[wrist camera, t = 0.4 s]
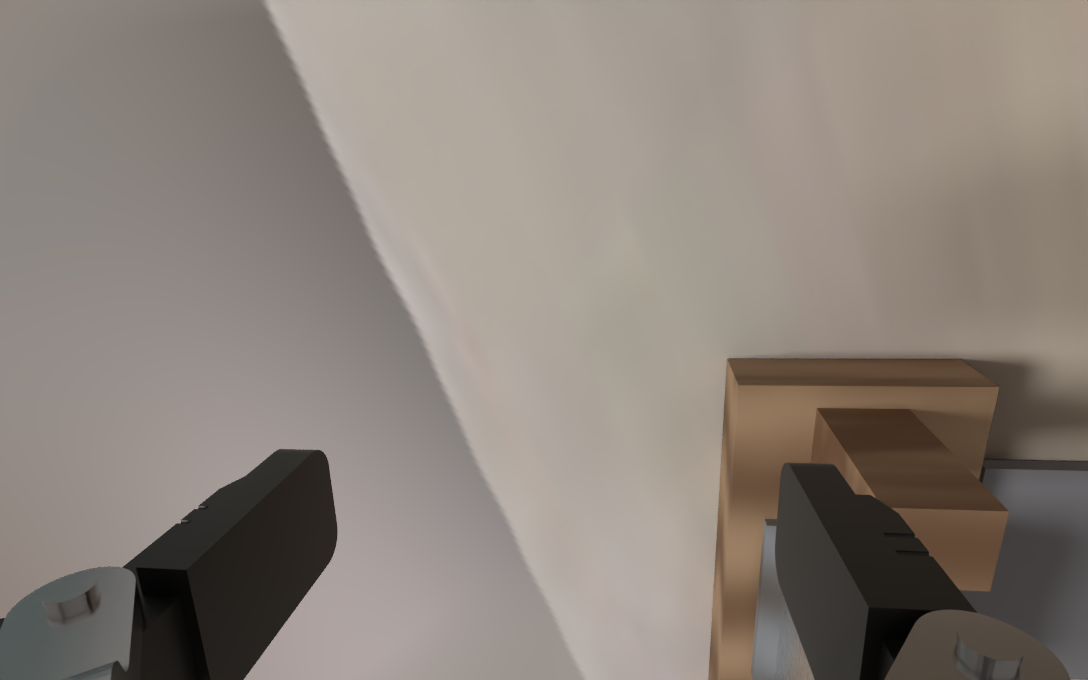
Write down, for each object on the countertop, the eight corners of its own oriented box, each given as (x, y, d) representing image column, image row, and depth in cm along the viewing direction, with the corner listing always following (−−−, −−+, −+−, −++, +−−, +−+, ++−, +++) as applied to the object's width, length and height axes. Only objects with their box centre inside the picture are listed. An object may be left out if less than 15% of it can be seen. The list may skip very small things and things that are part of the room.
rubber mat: (976, 459, 29) (985, 468, 28) (1194, 463, 28) (1210, 473, 27) (933, 658, 33) (940, 671, 32) (1122, 669, 32) (1134, 682, 31)
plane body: (727, 358, 29) (777, 477, 19) (960, 359, 27) (1136, 485, 18) (706, 712, 36) (736, 921, 27) (889, 725, 35) (988, 949, 25)
